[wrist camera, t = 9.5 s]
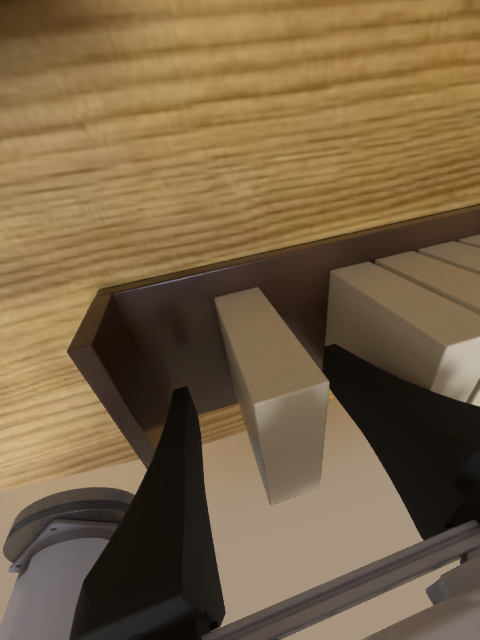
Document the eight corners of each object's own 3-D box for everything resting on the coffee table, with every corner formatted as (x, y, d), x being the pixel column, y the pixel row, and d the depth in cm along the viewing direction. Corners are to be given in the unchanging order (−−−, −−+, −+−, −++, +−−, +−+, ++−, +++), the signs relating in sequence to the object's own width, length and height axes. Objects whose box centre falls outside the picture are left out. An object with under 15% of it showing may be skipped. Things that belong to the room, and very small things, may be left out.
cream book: (233, 388, 17) (270, 506, 11) (213, 297, 13) (253, 405, 7) (268, 378, 17) (320, 488, 11) (258, 286, 13) (330, 381, 7)
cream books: (323, 363, 18) (399, 459, 12) (329, 270, 14) (448, 347, 8) (484, 315, 20) (617, 379, 14) (529, 221, 16) (741, 256, 10)
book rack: (161, 416, 18) (161, 490, 14) (97, 289, 12) (65, 351, 8) (475, 322, 21) (547, 359, 17) (537, 191, 16) (664, 201, 12)
